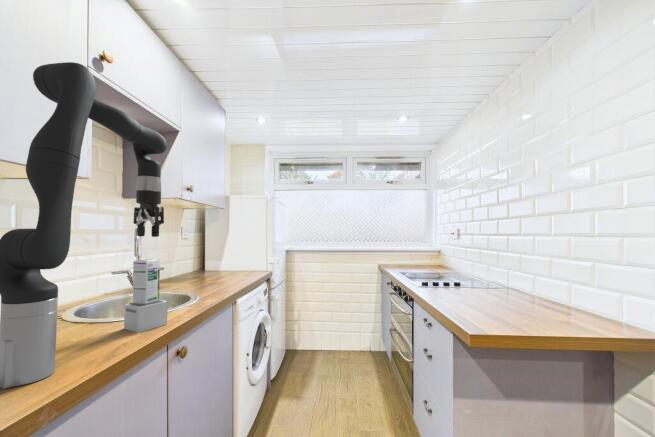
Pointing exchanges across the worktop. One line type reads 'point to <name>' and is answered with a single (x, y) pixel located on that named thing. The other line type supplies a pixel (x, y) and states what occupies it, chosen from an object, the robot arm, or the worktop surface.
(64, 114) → the robot arm
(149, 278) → the syrup box
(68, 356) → the worktop surface
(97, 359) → the worktop surface
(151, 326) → the grey storage bin
